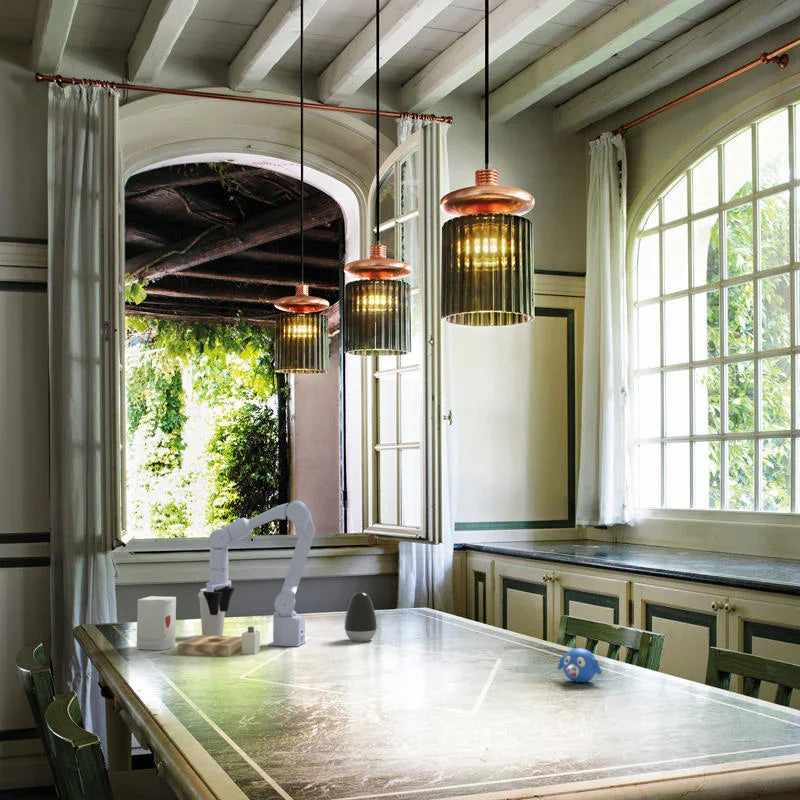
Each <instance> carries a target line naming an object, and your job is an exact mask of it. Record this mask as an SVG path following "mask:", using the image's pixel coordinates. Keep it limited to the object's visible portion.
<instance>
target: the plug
mask: <svg viewBox="0 0 800 800" xmlns="http://www.w3.org/2000/svg"><path fill="white" fill-rule="evenodd" d="M260 636H261V632H260V630H259V631H257V630H255V626H248V627H247V630H246V631H244V632H242V633H241V637H242V651H241V654H242V655H257V654H258V653H260V652H261V650H260V649H261V648H260V647H261V645H260V644H261V639H260V638H261V637H260Z"/></svg>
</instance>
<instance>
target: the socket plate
mask: <svg viewBox="0 0 800 800" xmlns="http://www.w3.org/2000/svg"><path fill="white" fill-rule="evenodd" d="M176 648H177V655H186V656H187V655H188V656H189V655H190V656H210V657H230V656H233V655H236V654H238V653H239V652H242V636H230V635H229V636H228V635H226V636H225V635H223V636H205V635H202V634H201V635H200V634H199V635H197V636H195V637H192V638H190V639H187V640H184V641H182V642H179V643H177V646H176Z"/></svg>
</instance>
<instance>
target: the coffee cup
mask: <svg viewBox="0 0 800 800" xmlns="http://www.w3.org/2000/svg"><path fill="white" fill-rule="evenodd" d="M204 591H206V587H204V588H201V589H200V590H199V593H198V594H197V597H198V600H199V611H200V621H201V622H200V624H201V635H205V636H224V627H225V626H224V625H225V613H226V612H220V607H219V609H218V614H217V615H210V611H209V607H208V603H207V601H206V598H205V596H204V595H203V592H204Z"/></svg>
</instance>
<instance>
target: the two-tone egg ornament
mask: <svg viewBox="0 0 800 800" xmlns="http://www.w3.org/2000/svg"><path fill="white" fill-rule="evenodd" d="M344 630H345V633H346V636H347V638H348V639H349V640H351V641H353V642H356V641H365V642H369V641H371V640H372V639H373V638H374V637H375V635H376V633H377V632H376V631H377V630H378V623H377V616H376V613H375V608H374V605H373V602H372V600H371V598H370V596H369V594H368V593H366V592H365V591H358V592H357V591H356V592H355V593H354V594H353V595H352V597H351V599H350V601H349V603H348V607H347V611H346V615H345V621H344Z"/></svg>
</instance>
